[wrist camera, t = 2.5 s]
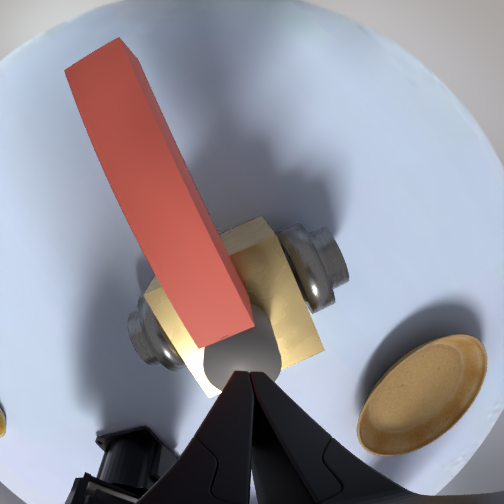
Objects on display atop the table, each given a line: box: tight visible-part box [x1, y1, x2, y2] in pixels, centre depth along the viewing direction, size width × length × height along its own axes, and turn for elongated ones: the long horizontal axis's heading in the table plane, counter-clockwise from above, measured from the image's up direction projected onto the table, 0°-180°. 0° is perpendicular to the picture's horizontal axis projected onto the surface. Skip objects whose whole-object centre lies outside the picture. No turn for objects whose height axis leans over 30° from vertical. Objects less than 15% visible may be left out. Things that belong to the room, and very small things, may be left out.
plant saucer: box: [357, 334, 487, 456], centre depth 25 cm, size 15×15×3 cm
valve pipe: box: [128, 216, 349, 397], centre depth 19 cm, size 13×7×6 cm, turn 114°
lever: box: [64, 37, 282, 391], centre depth 12 cm, size 15×3×3 cm, turn 24°
